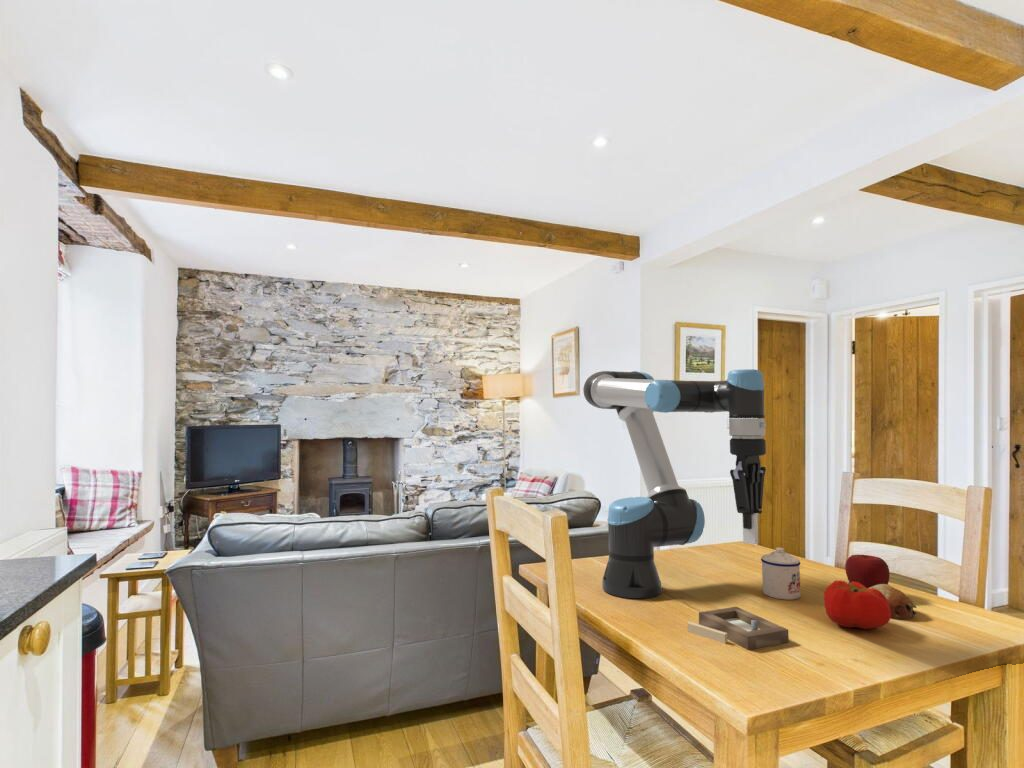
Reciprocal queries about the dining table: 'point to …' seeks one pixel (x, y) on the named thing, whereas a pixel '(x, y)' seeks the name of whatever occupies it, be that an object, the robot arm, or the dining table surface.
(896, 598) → the bread roll
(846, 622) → the tomato
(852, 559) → the apple
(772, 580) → the teacup with lid
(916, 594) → the dining table surface
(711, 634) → the wall panel
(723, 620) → the walnut frame
